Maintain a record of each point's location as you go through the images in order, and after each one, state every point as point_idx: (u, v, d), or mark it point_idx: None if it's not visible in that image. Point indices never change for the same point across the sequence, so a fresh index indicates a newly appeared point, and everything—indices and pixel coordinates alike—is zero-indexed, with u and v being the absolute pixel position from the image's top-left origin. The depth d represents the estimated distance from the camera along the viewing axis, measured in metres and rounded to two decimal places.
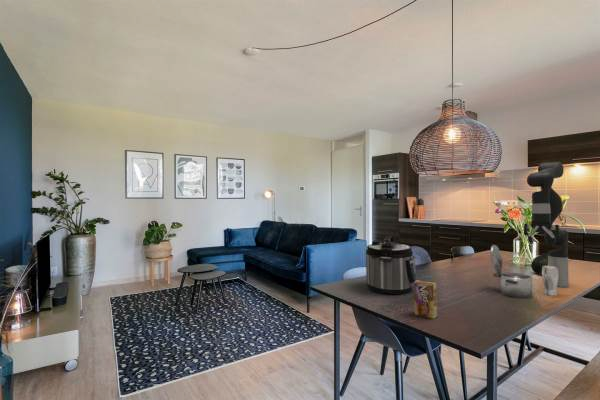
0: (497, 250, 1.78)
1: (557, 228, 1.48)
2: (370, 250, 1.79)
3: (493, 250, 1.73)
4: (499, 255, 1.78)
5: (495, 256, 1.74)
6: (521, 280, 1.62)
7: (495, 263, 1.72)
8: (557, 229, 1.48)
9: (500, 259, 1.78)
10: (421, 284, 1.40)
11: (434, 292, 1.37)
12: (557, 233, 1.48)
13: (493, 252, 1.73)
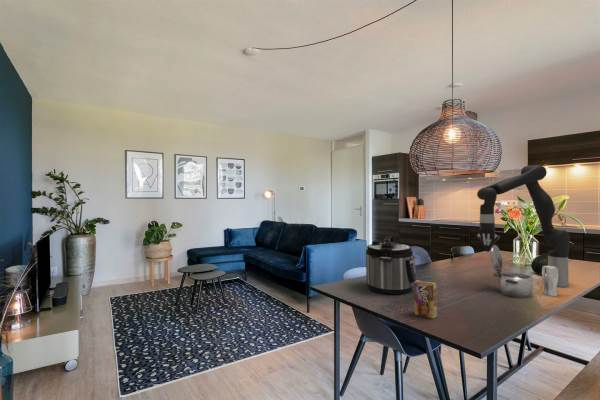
0: (497, 250, 1.78)
1: (496, 239, 1.75)
2: (370, 250, 1.79)
3: (493, 250, 1.73)
4: (499, 255, 1.78)
5: (495, 256, 1.74)
6: (521, 280, 1.62)
7: (495, 263, 1.72)
8: (495, 239, 1.75)
9: (500, 259, 1.78)
10: (421, 284, 1.40)
11: (434, 292, 1.37)
12: (493, 242, 1.76)
13: (493, 252, 1.73)
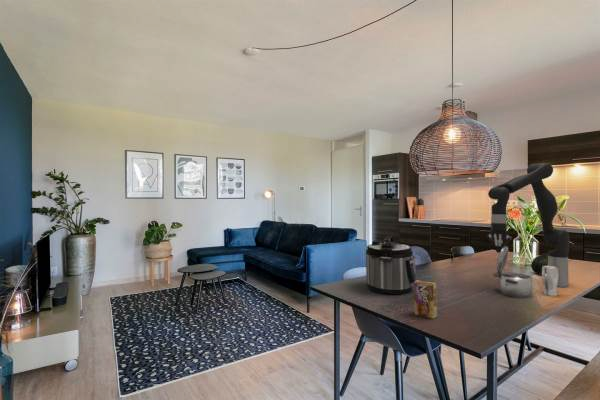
0: (506, 251, 1.74)
1: (508, 240, 1.70)
2: (370, 250, 1.79)
3: (503, 251, 1.70)
4: (506, 256, 1.76)
5: (502, 257, 1.71)
6: (521, 280, 1.62)
7: (499, 264, 1.70)
8: (507, 240, 1.71)
9: (505, 260, 1.76)
10: (421, 284, 1.40)
11: (434, 292, 1.37)
12: (504, 242, 1.72)
13: (502, 253, 1.69)
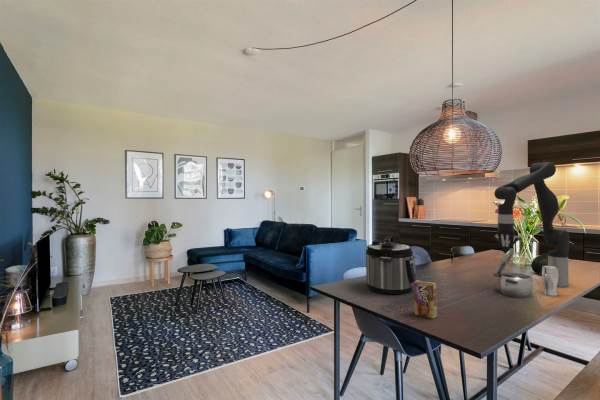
0: (511, 253, 1.73)
1: (515, 240, 1.68)
2: (370, 250, 1.79)
3: (508, 254, 1.68)
4: (509, 257, 1.75)
5: (506, 259, 1.70)
6: (521, 280, 1.62)
7: (502, 265, 1.69)
8: (515, 241, 1.68)
9: (507, 261, 1.75)
10: (421, 284, 1.40)
11: (434, 292, 1.37)
12: (512, 243, 1.69)
13: (507, 255, 1.68)
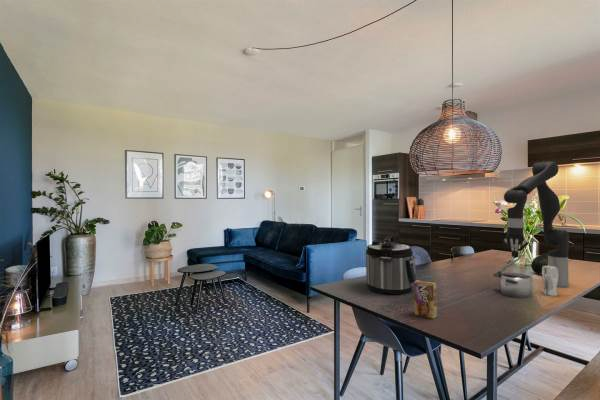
0: (518, 259, 1.70)
1: (525, 245, 1.64)
2: (370, 250, 1.79)
3: (516, 260, 1.65)
4: None
5: (512, 263, 1.68)
6: (521, 280, 1.62)
7: (505, 268, 1.68)
8: (524, 245, 1.65)
9: (511, 264, 1.74)
10: (421, 284, 1.40)
11: (434, 292, 1.37)
12: (521, 248, 1.66)
13: (515, 261, 1.65)
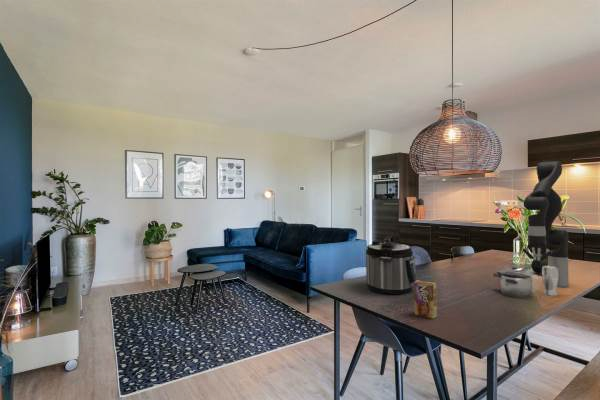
0: None
1: (548, 254, 1.57)
2: (370, 250, 1.79)
3: None
4: (519, 268, 1.71)
5: None
6: (521, 280, 1.62)
7: (507, 272, 1.67)
8: (547, 254, 1.57)
9: None
10: (421, 284, 1.40)
11: (434, 292, 1.37)
12: (544, 257, 1.58)
13: (521, 270, 1.63)
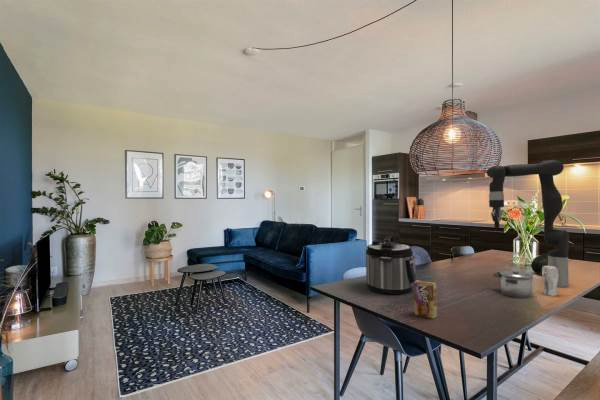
0: None
1: None
2: (370, 250, 1.79)
3: None
4: None
5: None
6: (521, 280, 1.62)
7: None
8: None
9: None
10: (421, 284, 1.40)
11: (434, 292, 1.37)
12: None
13: None
